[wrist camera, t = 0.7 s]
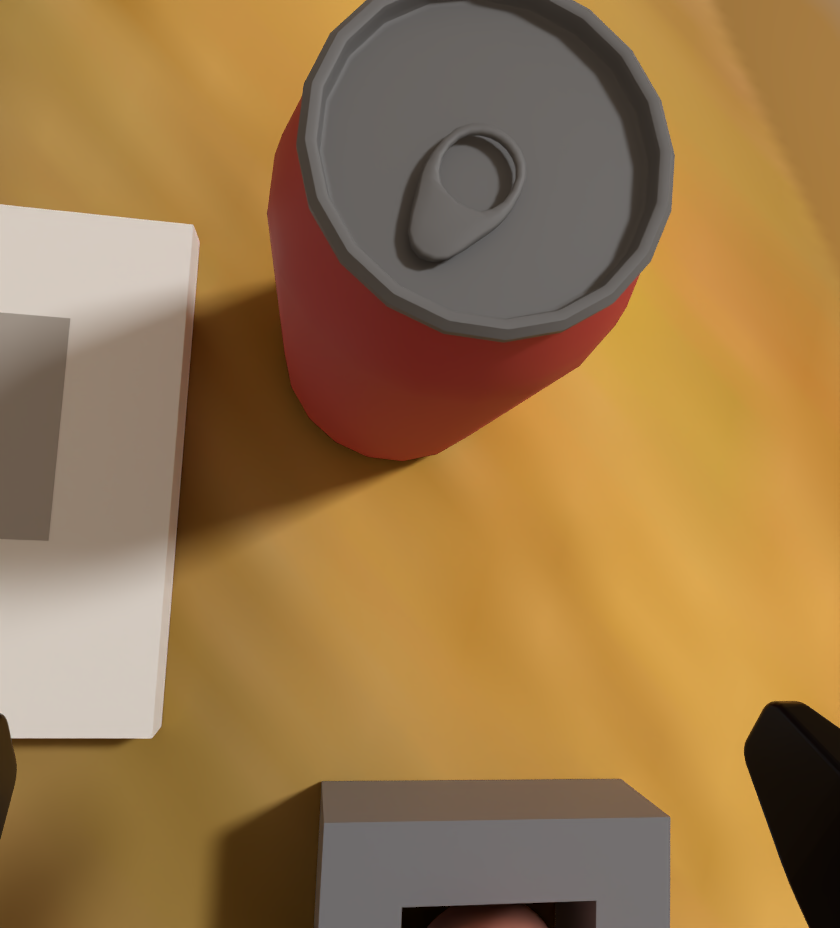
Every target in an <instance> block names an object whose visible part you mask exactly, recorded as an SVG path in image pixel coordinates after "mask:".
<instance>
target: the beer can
mask: <svg viewBox="0 0 840 928" xmlns="http://www.w3.org/2000/svg"><path fill="white" fill-rule="evenodd" d="M674 157H675V155H674V151H673V147H672V143H671V139H670V135H669V131H668V127H667V123H666V119H665V115H664V111H663V106H662V102H661V100H660V98H659V96H658V94H657V93H656V91H655V89H654V88H653V86H652V84H651V82H650V81H649V79H648V77H647V75H646V74H645V72H644V70H643V69H642V67H641V65H640V63H639V62H638V60H637V58H636V57H635V55H634V53H633V51H632V50H631V49H630V48H629V47H628V46H627V45H626V44H625V43H624V42H623V41H622V40H621V39H620V38H619V37H618V36H617V35H616V34H614V33H613V32H612V31H611V30H610V29H609V28H608V27H607V26H606V25H605V24H604V23H603V22H602V21H601V20H600V19H599V18H598V17H597V16H596V15H595V14H594V13H593V12H592V11H591V10H590V9H588V8H586V7H584V6H582V5H580V4H579V3H577V2H575V1H573V0H366V1H365V2H364V3H363V4H362V5H361V6H360V7H358V8H357V9H356V10H355V11H354V12H353V13H352V14H351V15H350V16H349V17H348V18H346V19H345V20H344V21H343V22H342V23H341V24H340V25H339V26H338V27H337V28H336V29H334V30H333V31H332V32H331V33H330V35H329V37H328V39H327V40H326V42H325V44H324V46H323V48H322V50H321V52H320V54H319V56H318V58H317V60H316V62H315V64H314V66H313V67H312V69H311V71H310V73H309V75H308V77H307V79H306V81H305V83H304V86H303V94H302V97H301V99H300V101H299V103H298V105H297V107H296V109H295V111H294V113H293V115H292V117H291V119H290V120H289V122H288V124H287V126H286V128H285V130H284V132H283V134H282V137H281V139H280V142H279V145H278V148H277V150H276V153H275V158H274V165H273V173H272V180H271V188H270V195H269V203H268V210H267V217H268V225H269V233H270V241H271V249H272V257H273V265H274V273H275V281H276V289H277V297H278V305H279V313H280V321H281V329H282V337H283V345H284V353H285V358H286V363H287V368H288V372H289V377H290V382H291V387H292V389H293V391H294V392H295V394H296V396H297V398H298V399H299V401H300V403H301V405H302V406H303V408H304V410H305V412H306V413H307V415H308V417H309V418H310V419H311V420H312V421H313V422H314V423H315V424H316V425H317V426H318V427H319V428H321V429H322V430H323V431H324V432H325V433H326V434H327V435H328V436H329V437H330V438H332V439H333V440H334V441H335V442H336V443H339V444H341V445H343V446H345V447H347V448H349V449H352V450H354V451H356V452H358V453H360V454H363V455H365V456H367V457H373V458H381V459H390V460H398V461H405V460H410V459H415V458H420V457H425V456H430V455H435V454H438V453H440V452H441V451H443V450H445V449H447V448H448V447H450V446H452V445H454V444H455V443H457V442H459V441H461V440H462V439H464V438H466V437H467V436H469V435H471V434H472V433H474V432H475V431H477V430H479V429H480V428H482V427H483V426H485V425H487V424H488V423H490V422H491V421H493V420H494V419H496V418H498V417H499V416H501V415H502V414H504V413H506V412H507V411H509V410H510V409H512V408H514V407H515V406H517V405H518V404H520V403H521V402H523V401H525V400H526V399H528V398H529V397H531V396H533V395H534V394H536V393H537V392H539V391H540V390H542V389H544V388H545V387H547V386H548V385H550V384H552V383H553V382H555V381H556V380H558V379H560V378H561V377H563V376H564V375H566V374H567V373H569V372H571V371H572V370H574V369H575V368H577V367H579V366H580V365H581V364H582V363H583V361H584V360H585V359H586V358H587V357H588V356H589V355H590V353H591V352H592V351H593V350H594V349H595V348H596V347H597V345H598V344H599V343H600V342H601V341H602V340H603V339H604V337H605V336H606V335H607V334H608V333H609V332H610V331H611V329H612V328H613V327H614V326H615V325H616V323H617V322H618V320H619V318H620V317H621V315H622V313H623V312H624V310H625V308H626V307H627V304H628V302H629V299H630V297H631V294H632V292H633V290H634V287H635V285H636V282H637V280H638V277H639V275H640V273H641V272H642V271H643V269H644V268H645V267H646V266H647V265H648V264H649V263H650V262H651V259H652V257H653V254H654V252H655V249H656V247H657V244H658V242H659V239H660V237H661V235H662V232H663V230H664V227H665V225H666V222H667V220H668V217H669V215H670V212H671V205H672V189H673V173H674Z"/></svg>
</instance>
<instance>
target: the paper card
mask: <svg viewBox="0 0 840 928" xmlns="http://www.w3.org/2000/svg"><path fill="white" fill-rule="evenodd" d="M199 244H200V242H199V239H198V236H197V233H196V231H195V228H194V225H191V224H181V223H172V222H162V221H152V220H143V219H133V218H124V217H114V216H105V215H95V214H86V213H76V212H67V211H57V210H48V209H38V208H29V207H19V206H10V205H0V713H1V714H3V715H4V716H5V717H6V719H7V722H8V726H9V730H10V735H11V738H153V736H154V735H155V734H156V733H157V731H158V730H159V729H160V727H161V724H162V711H163V699H164V686H165V673H166V661H167V648H168V636H169V623H170V610H171V598H172V585H173V572H174V560H175V547H176V535H177V522H178V509H179V497H180V484H181V472H182V459H183V446H184V434H185V421H186V408H187V396H188V383H189V371H190V358H191V345H192V333H193V320H194V307H195V295H196V282H197V270H198V257H199Z"/></svg>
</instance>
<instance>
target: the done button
mask: <svg viewBox="0 0 840 928" xmlns="http://www.w3.org/2000/svg"><path fill="white" fill-rule="evenodd" d="M427 928H548V926H547V925H546V924H545V922H544V921H543V920H542V919H541V917H540V916H539V915H538V914H536V913H535V912H534V911H533V910H532V909H530V908H529V907H528V906H526V905H525V904H523V903H513V904H485V905H456V906H451V907H449V908H448V909H446V910H445V911H444V912H442V913H441V914H440V915H439V916H438V917H437V918H436V919H434V920H433V921H432V923H431V924H430V925H429V926H428V927H427Z"/></svg>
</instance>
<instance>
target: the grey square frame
mask: <svg viewBox="0 0 840 928" xmlns="http://www.w3.org/2000/svg"><path fill="white" fill-rule="evenodd" d="M542 902H555V928H670V817H669V816H668V815H667V814H666V813H664V812H663V811H662V810H660V809H659V808H658V807H656V806H655V805H654V804H653V803H651V802H650V801H649V800H647V799H646V798H645V797H643V796H642V795H641V794H640V793H638V792H637V791H636V790H634V789H633V788H632V787H631V786H629V785H628V784H627V783H625V782H624V781H623V780H621V779H553V780H431V781H322V786H321V804H320V822H319V840H318V859H317V877H316V895H315V913H314V928H401V918H402V907H427V906H456V905H485V904H513V903H542Z"/></svg>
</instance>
